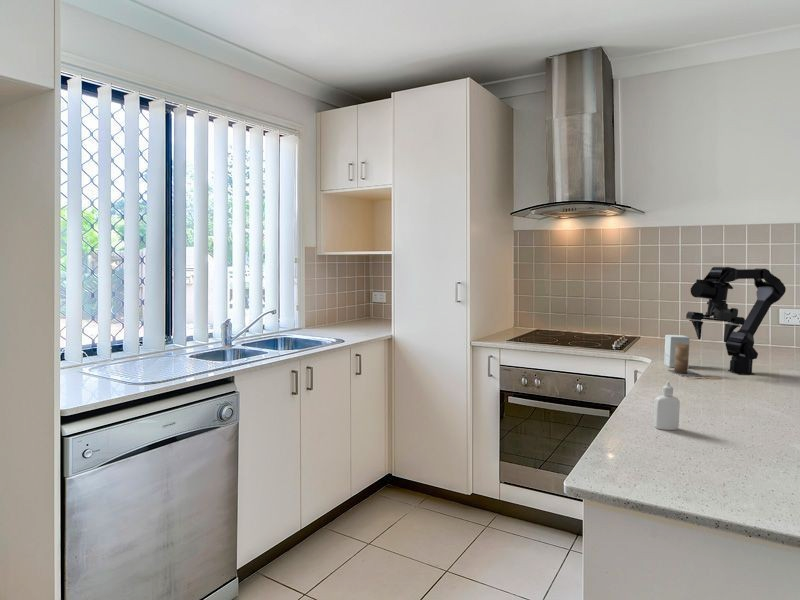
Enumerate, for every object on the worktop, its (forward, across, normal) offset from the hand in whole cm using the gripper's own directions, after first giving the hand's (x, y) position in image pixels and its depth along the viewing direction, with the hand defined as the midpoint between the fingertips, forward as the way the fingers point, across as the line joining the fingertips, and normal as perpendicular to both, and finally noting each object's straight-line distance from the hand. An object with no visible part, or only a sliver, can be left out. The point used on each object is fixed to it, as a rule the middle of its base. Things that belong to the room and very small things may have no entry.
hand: (712, 340), depth 198 cm
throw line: (+14, -5, -8) cm, 16 cm away
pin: (+14, -10, 0) cm, 17 cm away
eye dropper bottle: (+20, -39, -72) cm, 84 cm away
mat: (+14, -8, 0) cm, 16 cm away
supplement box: (+13, -6, +16) cm, 21 cm away
